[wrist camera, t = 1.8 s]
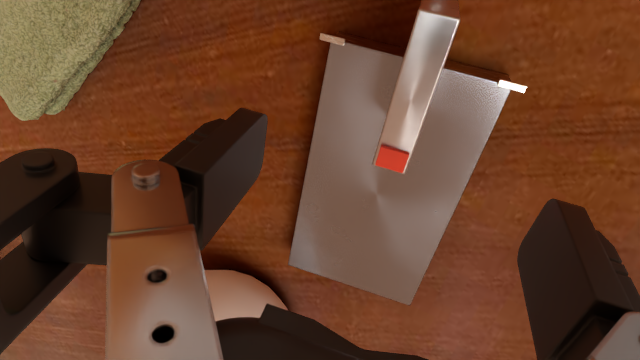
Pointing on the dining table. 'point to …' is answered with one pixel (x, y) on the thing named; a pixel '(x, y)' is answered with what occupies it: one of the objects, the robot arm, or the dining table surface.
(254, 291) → the cup
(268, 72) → the dining table surface
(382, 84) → the base
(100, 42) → the washcloth
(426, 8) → the spout
